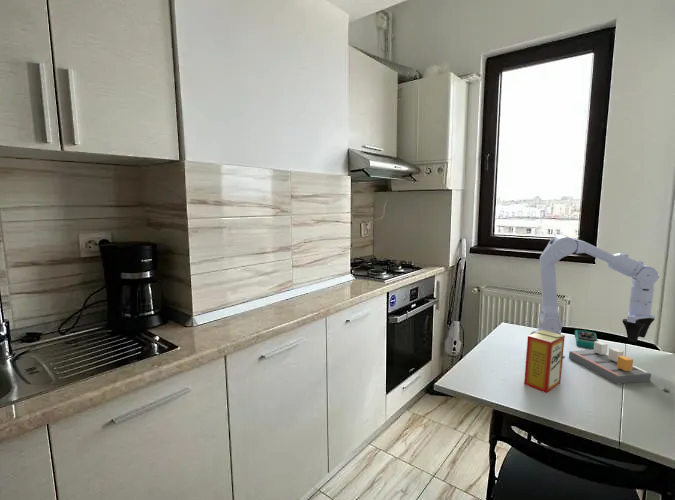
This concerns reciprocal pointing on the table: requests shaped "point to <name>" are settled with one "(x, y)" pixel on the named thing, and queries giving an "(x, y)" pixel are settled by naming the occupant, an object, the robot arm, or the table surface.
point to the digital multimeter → (585, 338)
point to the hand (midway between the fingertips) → (636, 339)
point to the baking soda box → (544, 360)
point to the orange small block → (624, 363)
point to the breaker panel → (608, 364)
